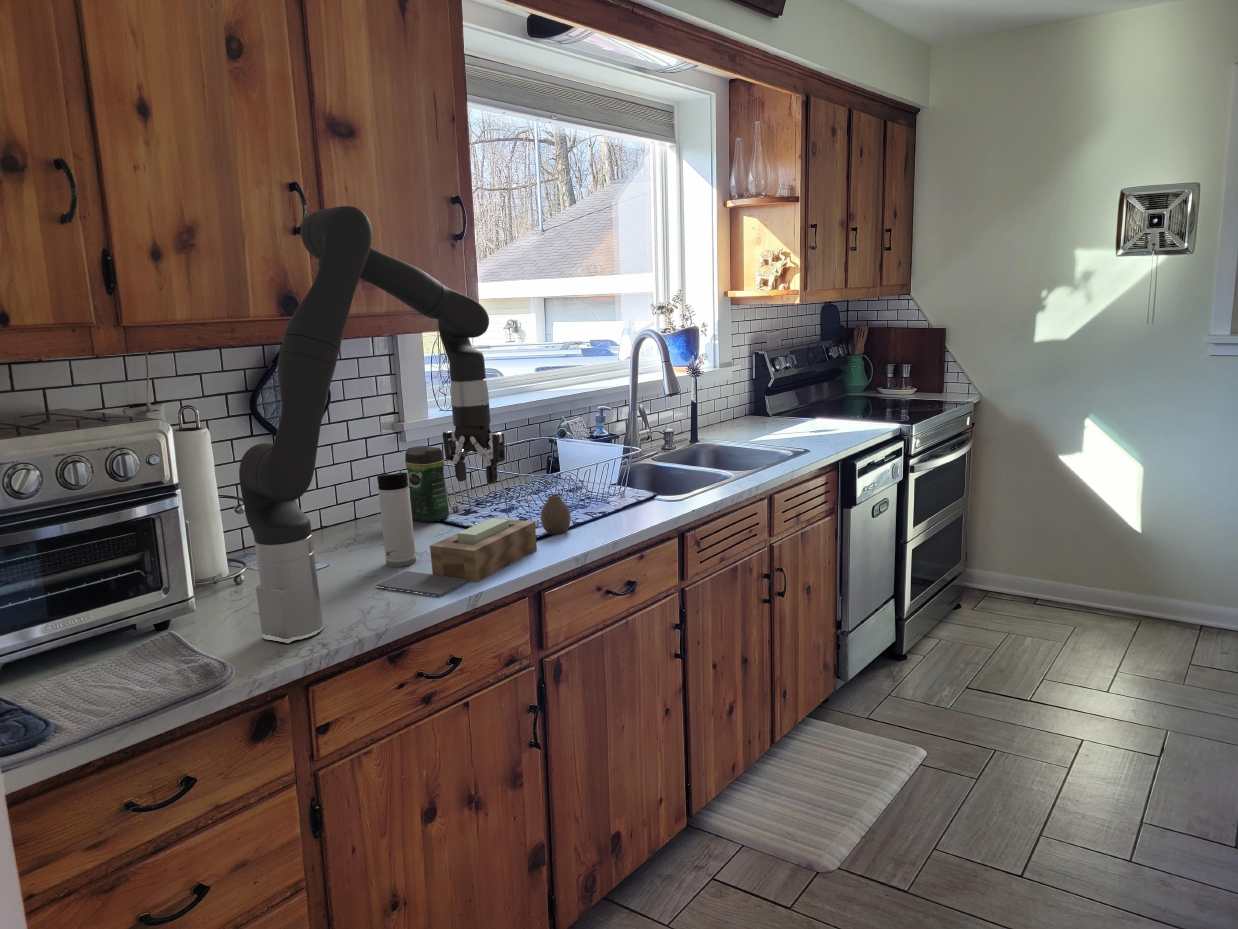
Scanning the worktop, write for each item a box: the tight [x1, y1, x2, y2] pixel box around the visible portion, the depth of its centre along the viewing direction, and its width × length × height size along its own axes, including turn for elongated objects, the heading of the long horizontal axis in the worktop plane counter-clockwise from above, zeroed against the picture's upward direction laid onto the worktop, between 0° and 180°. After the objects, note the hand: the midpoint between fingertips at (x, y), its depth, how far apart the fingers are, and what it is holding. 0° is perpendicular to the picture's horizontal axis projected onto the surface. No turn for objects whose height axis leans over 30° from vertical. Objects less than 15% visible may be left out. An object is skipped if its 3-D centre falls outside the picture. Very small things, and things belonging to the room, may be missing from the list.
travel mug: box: [376, 472, 417, 568], centre depth 194 cm, size 6×7×20 cm
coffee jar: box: [404, 445, 450, 523], centre depth 231 cm, size 10×8×19 cm
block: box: [456, 517, 510, 545], centre depth 192 cm, size 12×4×4 cm, turn 152°
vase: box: [540, 494, 571, 535], centre depth 213 cm, size 7×7×9 cm
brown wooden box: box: [429, 517, 538, 583], centre depth 193 cm, size 22×11×6 cm, turn 152°
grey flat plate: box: [375, 570, 470, 597], centre depth 181 cm, size 9×16×1 cm, turn 62°
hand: (476, 481), depth 189 cm, fingers open, 7 cm apart
